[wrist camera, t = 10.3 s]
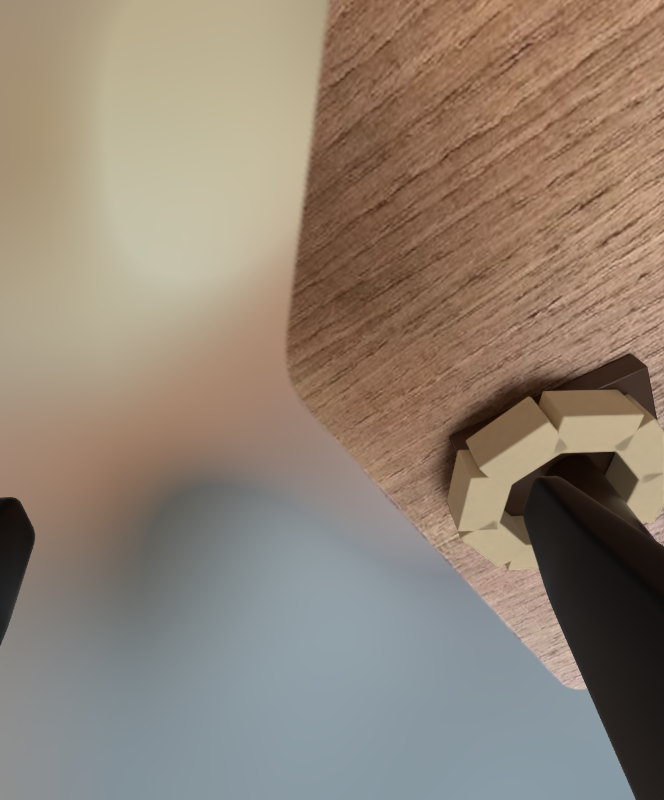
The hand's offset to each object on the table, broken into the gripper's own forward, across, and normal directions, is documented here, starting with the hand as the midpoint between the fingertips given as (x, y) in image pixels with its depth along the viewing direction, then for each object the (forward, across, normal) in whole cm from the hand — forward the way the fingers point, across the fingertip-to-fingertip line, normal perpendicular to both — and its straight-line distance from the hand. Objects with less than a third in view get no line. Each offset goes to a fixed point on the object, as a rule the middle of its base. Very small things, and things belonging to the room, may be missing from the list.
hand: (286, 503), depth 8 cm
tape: (+11, -13, +10) cm, 19 cm away
